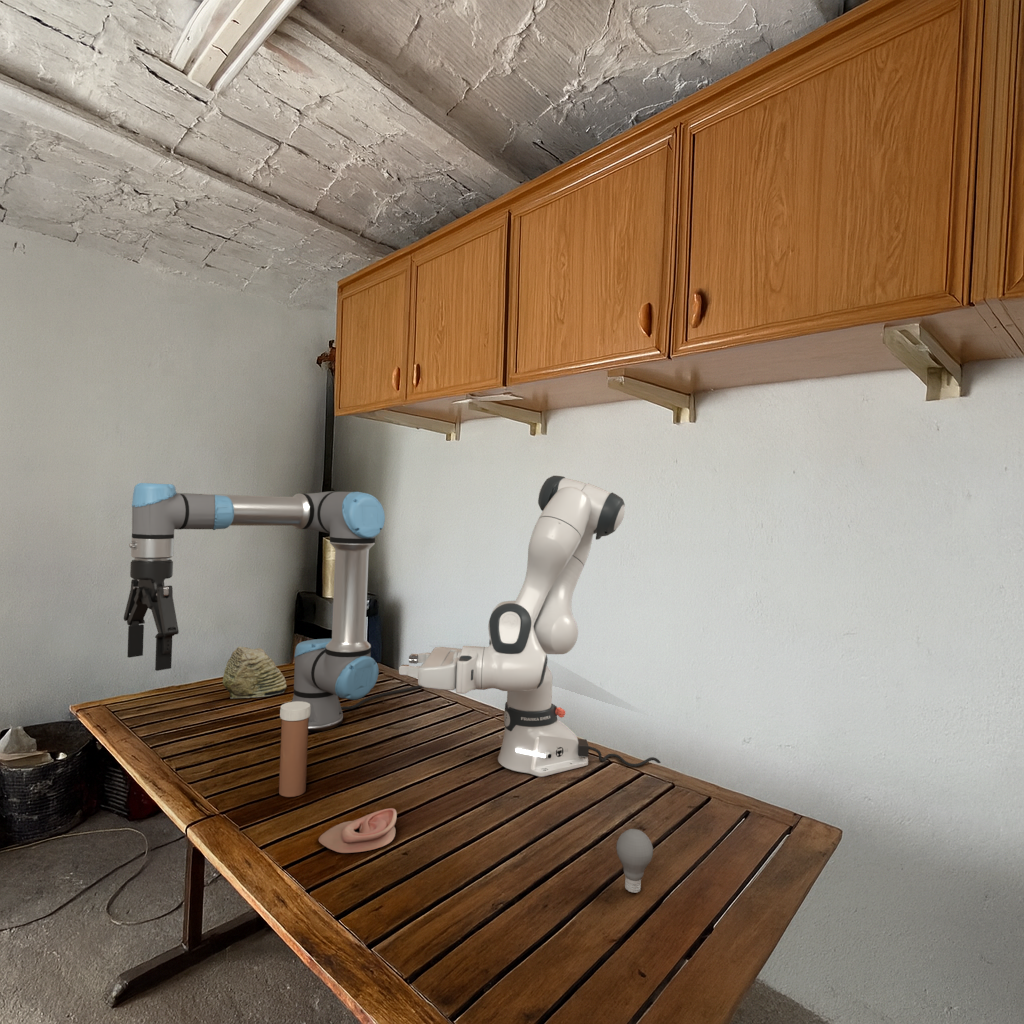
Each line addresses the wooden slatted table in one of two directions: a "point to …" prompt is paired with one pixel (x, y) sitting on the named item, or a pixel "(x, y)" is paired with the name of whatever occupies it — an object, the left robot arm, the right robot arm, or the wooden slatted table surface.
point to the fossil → (252, 674)
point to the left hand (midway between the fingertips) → (148, 662)
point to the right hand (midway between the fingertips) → (404, 663)
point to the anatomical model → (362, 833)
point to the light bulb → (634, 857)
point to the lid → (295, 711)
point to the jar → (293, 757)
